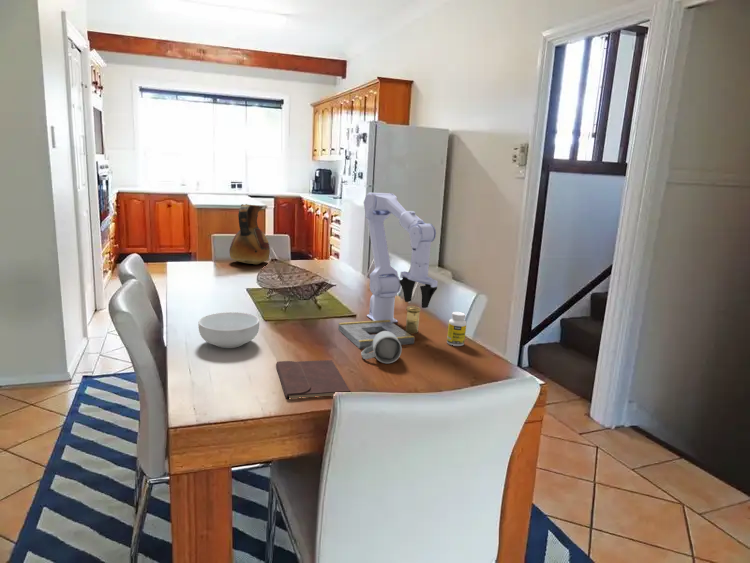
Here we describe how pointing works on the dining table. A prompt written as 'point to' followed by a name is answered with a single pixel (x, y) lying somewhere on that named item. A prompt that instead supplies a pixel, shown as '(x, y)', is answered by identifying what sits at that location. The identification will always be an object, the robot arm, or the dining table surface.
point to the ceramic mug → (384, 348)
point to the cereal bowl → (228, 329)
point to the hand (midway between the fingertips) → (416, 304)
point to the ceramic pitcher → (249, 238)
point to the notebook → (310, 378)
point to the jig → (360, 330)
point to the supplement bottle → (456, 329)
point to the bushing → (412, 319)
